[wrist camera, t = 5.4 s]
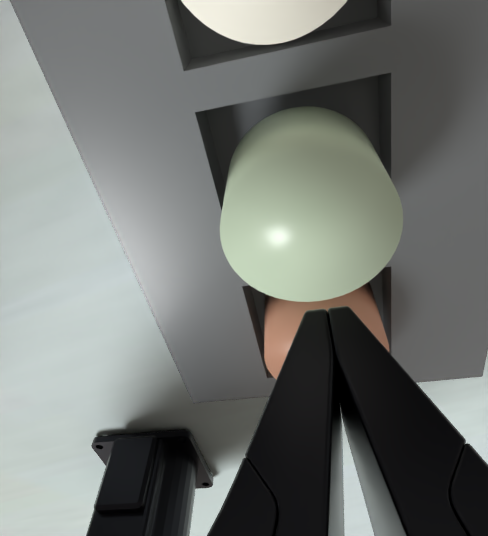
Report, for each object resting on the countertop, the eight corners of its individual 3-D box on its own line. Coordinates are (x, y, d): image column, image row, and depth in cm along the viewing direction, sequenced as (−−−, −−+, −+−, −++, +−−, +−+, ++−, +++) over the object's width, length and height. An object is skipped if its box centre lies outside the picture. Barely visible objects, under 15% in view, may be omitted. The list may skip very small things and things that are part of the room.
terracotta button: (374, 333, 19) (389, 388, 17) (273, 345, 20) (274, 399, 18) (371, 251, 17) (389, 303, 14) (255, 268, 17) (253, 319, 15)
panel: (460, 332, 20) (482, 376, 18) (200, 361, 22) (193, 403, 20) (563, -430, 8) (665, -560, 6) (-32, -217, 10) (-108, -259, 8)
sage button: (378, 232, 14) (401, 290, 12) (244, 252, 15) (240, 311, 13) (376, 90, 12) (405, 129, 9) (212, 123, 12) (199, 166, 10)
